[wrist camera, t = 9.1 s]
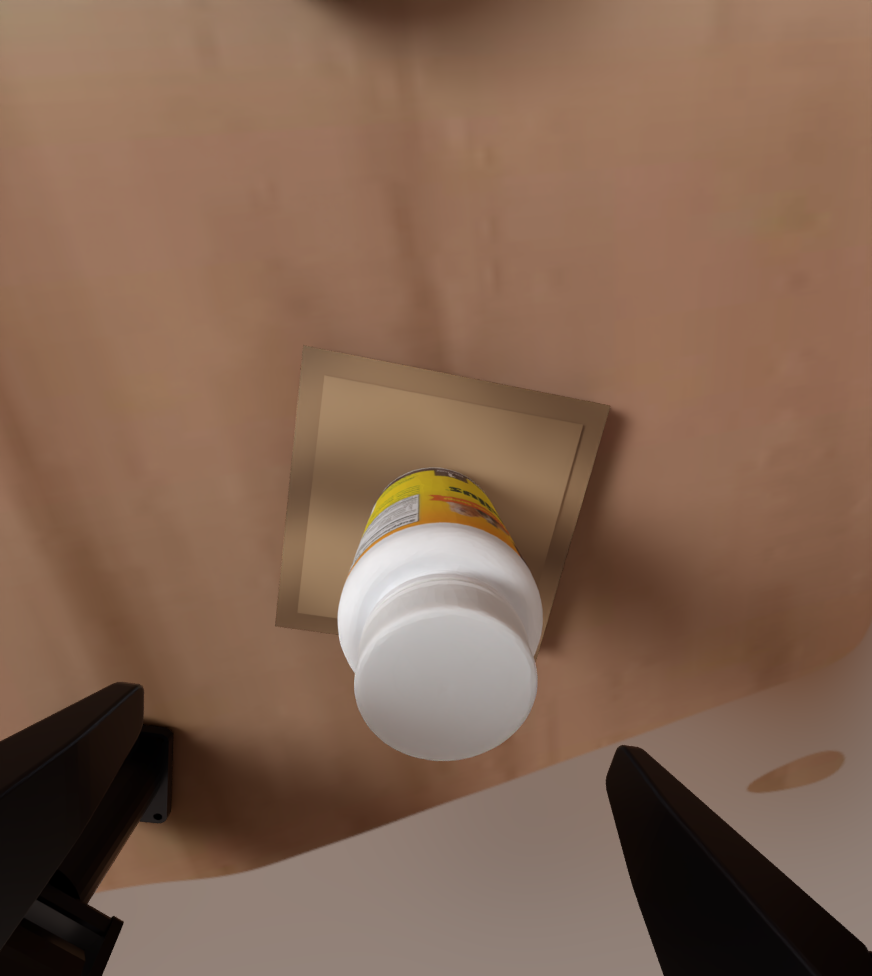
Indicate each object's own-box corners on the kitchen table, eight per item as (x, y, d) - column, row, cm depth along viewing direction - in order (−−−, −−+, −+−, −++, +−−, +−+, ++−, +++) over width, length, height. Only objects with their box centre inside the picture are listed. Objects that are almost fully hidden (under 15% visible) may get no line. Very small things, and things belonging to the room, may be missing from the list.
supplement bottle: (516, 538, 19) (622, 717, 9) (416, 600, 20) (413, 830, 10) (450, 437, 18) (489, 519, 8) (345, 507, 18) (256, 665, 8)
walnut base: (527, 643, 22) (536, 664, 21) (285, 609, 21) (274, 628, 20) (596, 403, 19) (612, 405, 17) (312, 347, 18) (302, 345, 16)
